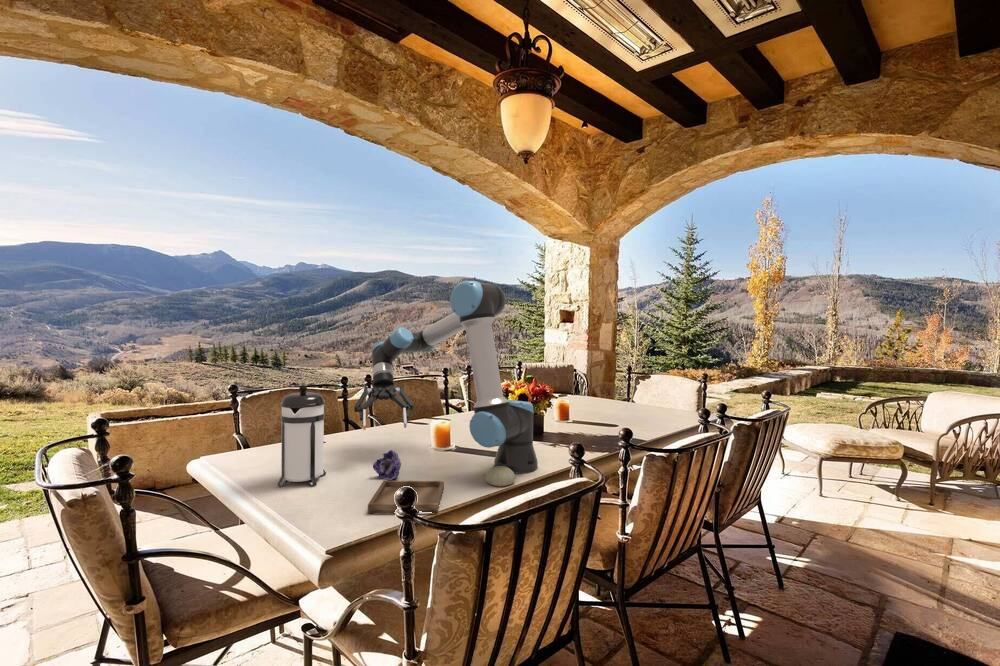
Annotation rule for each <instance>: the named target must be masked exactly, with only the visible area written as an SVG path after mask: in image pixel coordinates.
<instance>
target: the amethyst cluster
mask: <svg viewBox="0 0 1000 666" xmlns="http://www.w3.org/2000/svg"><path fill="white" fill-rule="evenodd" d="M382 456H383V457H382V458H379V459H376V461H374V463H373V465H372V468H373V470H374V471H375V472H376V473H377V475H378V478H380V479H383V480H384V479H385V480H384V481H386V480H387V481H394V480H396V479H397V478H398V476H399V473H400V469H401V466H402V462H401V459H400V456H399V453H397V452H396V451H394V450H392V449H390V450H388V452H384V453H383V454H382ZM393 479H394V480H393Z"/></svg>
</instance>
